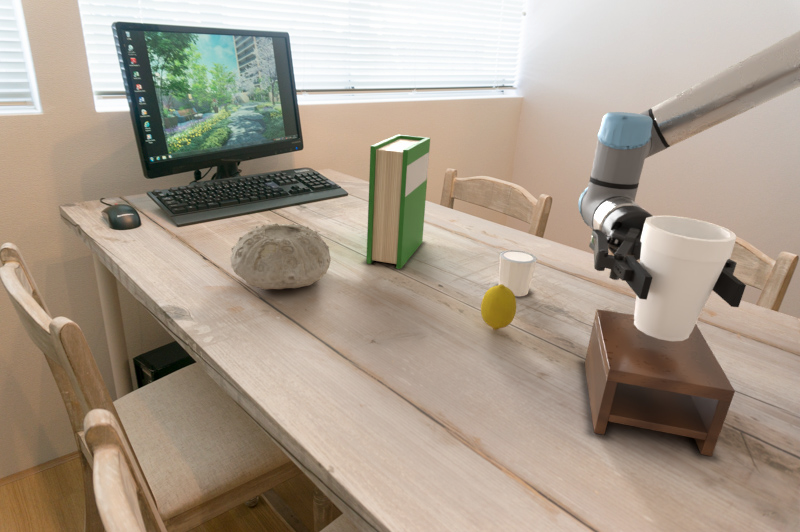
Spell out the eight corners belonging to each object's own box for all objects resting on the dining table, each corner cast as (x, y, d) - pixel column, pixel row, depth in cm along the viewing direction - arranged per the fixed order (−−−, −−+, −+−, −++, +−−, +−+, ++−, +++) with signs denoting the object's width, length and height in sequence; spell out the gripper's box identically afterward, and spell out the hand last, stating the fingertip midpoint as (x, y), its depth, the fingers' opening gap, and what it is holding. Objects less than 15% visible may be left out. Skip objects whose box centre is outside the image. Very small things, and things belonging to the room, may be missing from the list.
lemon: (498, 341, 82) (504, 295, 79) (471, 327, 86) (476, 282, 83) (519, 331, 86) (526, 286, 83) (493, 318, 90) (499, 274, 87)
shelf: (679, 380, 75) (696, 324, 72) (712, 456, 61) (735, 391, 57) (584, 363, 78) (596, 309, 74) (593, 433, 63) (609, 369, 60)
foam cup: (604, 315, 67) (627, 217, 62) (657, 306, 71) (682, 213, 66) (665, 354, 59) (696, 245, 54) (721, 341, 63) (756, 238, 58)
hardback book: (400, 269, 107) (408, 150, 98) (366, 263, 109) (370, 146, 100) (422, 242, 123) (430, 137, 114) (392, 237, 125) (397, 134, 116)
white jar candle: (504, 279, 105) (509, 246, 103) (537, 289, 102) (542, 255, 99) (488, 290, 100) (493, 256, 97) (522, 301, 96) (528, 265, 94)
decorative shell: (331, 301, 92) (331, 247, 88) (224, 302, 89) (220, 247, 85) (329, 263, 108) (329, 216, 104) (239, 262, 106) (236, 214, 102)
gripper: (694, 258, 80) (783, 330, 59) (547, 246, 81) (584, 313, 60) (708, 210, 77) (807, 269, 56) (556, 198, 78) (598, 252, 57)
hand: (692, 292), depth 58 cm, fingers closed on foam cup, 9 cm apart
